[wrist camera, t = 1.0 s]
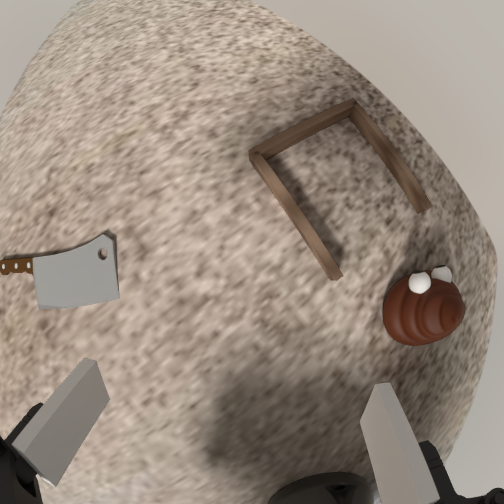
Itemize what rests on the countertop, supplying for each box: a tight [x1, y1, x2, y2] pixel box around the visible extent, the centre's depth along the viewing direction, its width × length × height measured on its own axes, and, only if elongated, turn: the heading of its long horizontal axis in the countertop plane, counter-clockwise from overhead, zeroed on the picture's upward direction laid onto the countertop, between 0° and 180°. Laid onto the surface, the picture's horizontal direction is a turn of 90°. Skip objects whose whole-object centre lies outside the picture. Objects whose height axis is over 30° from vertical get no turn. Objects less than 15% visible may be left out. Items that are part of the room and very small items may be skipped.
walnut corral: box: [249, 98, 432, 281], centre depth 27 cm, size 16×15×2 cm
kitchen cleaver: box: [0, 234, 120, 309], centre depth 29 cm, size 24×1×10 cm
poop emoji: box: [383, 265, 465, 346], centre depth 23 cm, size 10×8×9 cm
